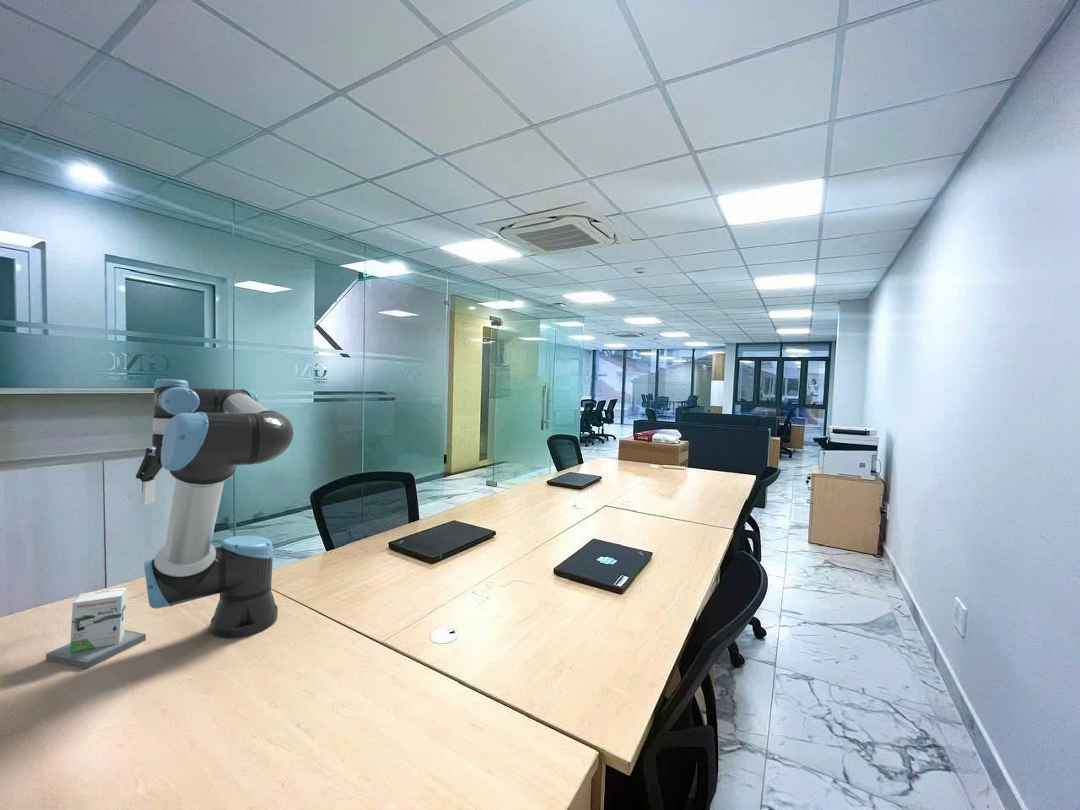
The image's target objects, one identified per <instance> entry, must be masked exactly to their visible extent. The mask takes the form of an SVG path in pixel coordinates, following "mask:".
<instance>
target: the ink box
mask: <svg viewBox="0 0 1080 810" xmlns="http://www.w3.org/2000/svg"><path fill="white" fill-rule="evenodd" d="M126 603H127V588H126V587H120V588H111V589H103V590H96V591H89V592H83V593H80V594H78V595H77V596H76V597H75V598H74V600H73V602H72V611H71V624H70V625H71V627H70V653H72V652H77V651H82V650H87V649H93V648H98V647H103V646H108V645H113V644H118V643H120V641H121V640H122V638H123V636H124V630H125V626H126V625H125V623H126V608H127V607H126Z"/></svg>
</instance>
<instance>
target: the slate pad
mask: <svg viewBox="0 0 1080 810" xmlns="http://www.w3.org/2000/svg"><path fill="white" fill-rule="evenodd" d="M146 640H147V633H142V632H138V631H132V630H128V629H124V636H123V638H122V640H121V641H120V643H118V644H113V645H108V646H103V647H98V648H93V649H87V650H82V651H77V652H72V653H70V643H71V642H70V643H67V644H65V645H63V646H61V647H57V648H56V649H53V650H51V651H48V652H46V654H45V660H46V661H48V662H53V663H57V664H62V665H66V666H71V667H75V668H81V669H85V670H89V669H90V668H92V667H95V666H96V665H98V664H100V663H102V662H104V661H106V660H108V659H110V658H112V657H114V656H116V655H118V654H120V653H122V652H124V651H126V650H128V649H130V648H132V647H134V646H137V645H138V644H140V643H142V642H144V641H146Z"/></svg>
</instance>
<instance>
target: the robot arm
mask: <svg viewBox="0 0 1080 810" xmlns="http://www.w3.org/2000/svg"><path fill="white" fill-rule="evenodd" d="M259 402H260V401H259V395H258V393H257V392H256V391H255V390H252V389H245V388H241V389H240V388H239V389H236V388H235V389H234V388H233V389H231V388H230V389H229V388H213V387H212V388H209V387H191V386H190V387H189V382H188V380H184V379H172V378H171V379H167V378H157V379H156V380H155V381H154V387H153V418H152V432H153V434H152V439H151V444H152V445H151V446H152V447H147V448H145V455H144V458H143V460H142V462H141V463H140V466H139V469H138V470H137V473H136V475H135V479H138V480H140V481H141V482H142V485H141V486H142V487H141V491H142V503H141V504H142V505H149V504H154V503H155V501H156V500H155V499H156V479H155V477H156V476H157V475H158V473H159V472H160V471H161V469H162V468H163V469H164V470H166V471H168V472H169V474H170V475H171V477H172V478H174V479H175V485H174V489H173V496H172V503H171V508H170V512H169V513H170V514H169V520H168V526H167V532H166V538H165V545H163V546H162V547H161V548H160V549H158V551H157V552H156V554H155V556H154V558H153V557H152V558H151V559H149V560H148V559H147V560H146V561H145V562H144V565H143V566H144V575H145V582H146V592H147V598H148V604H149V607H150V608H152V609H162V608H166V607H167V608H168V607H174V606H176V605H179V604H183V603H188V602H192V601H195V600H199V599H203V598H207V597H210V596H214V595H217V594H219V601H218V602H217V605H216V607H215V611H214V614H213V616H212V618H211V620H210V623H209V624H210V625H209V626H210V627H209V633H210V634H211V635H212V636H213V637H216V638H220V639H237V638H242V637H247V636H251V635H255V634H257V633H260V632H261V631H264V630H265V629H268V628H270V627H271V626H272V625H273V624H274V623H275V622H276V621H277V620H278V616H279V615H278V613H279V612H278V611H279V610H278V606H277V604H276V602H275V598H274V595H273V592H272V580H273V578H272V577H273V559H274V549H273V548H274V547H273V542H272V540H270V539H269V538H266V537H263V536H260V535H234V536H230V537H227V538H225V539H223V540H222V541H221V544H220V546H217V547H215V546H214V545H213V544H212V540H213V538H214V537H213V536H214V531H215V527H216V522H217V517H218V513H219V508H220V503H221V501H222V500H221V499H222V494H223V491H224V486H225V482H226V481H228V480H229V479H231V477H233V475H235V473H236V469H237V466H247V465H250V466H251V465H258V464H259V465H260V464H264V463H267V462H270V461H272V460H274V459H276V458H278V457H279V456H280V455H283V453H284V452H286V451H287V449H288V448H289V447H290V445H291V444H292V441H293V439H294V426H293V425H292V422H291V421H290V420H289V418H287V417H286V416H285V415H283V414H282V413H280V412H278V411H276V410H269V409H267V408H266V407H265V406H264V405H262V404H261V403H259Z"/></svg>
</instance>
